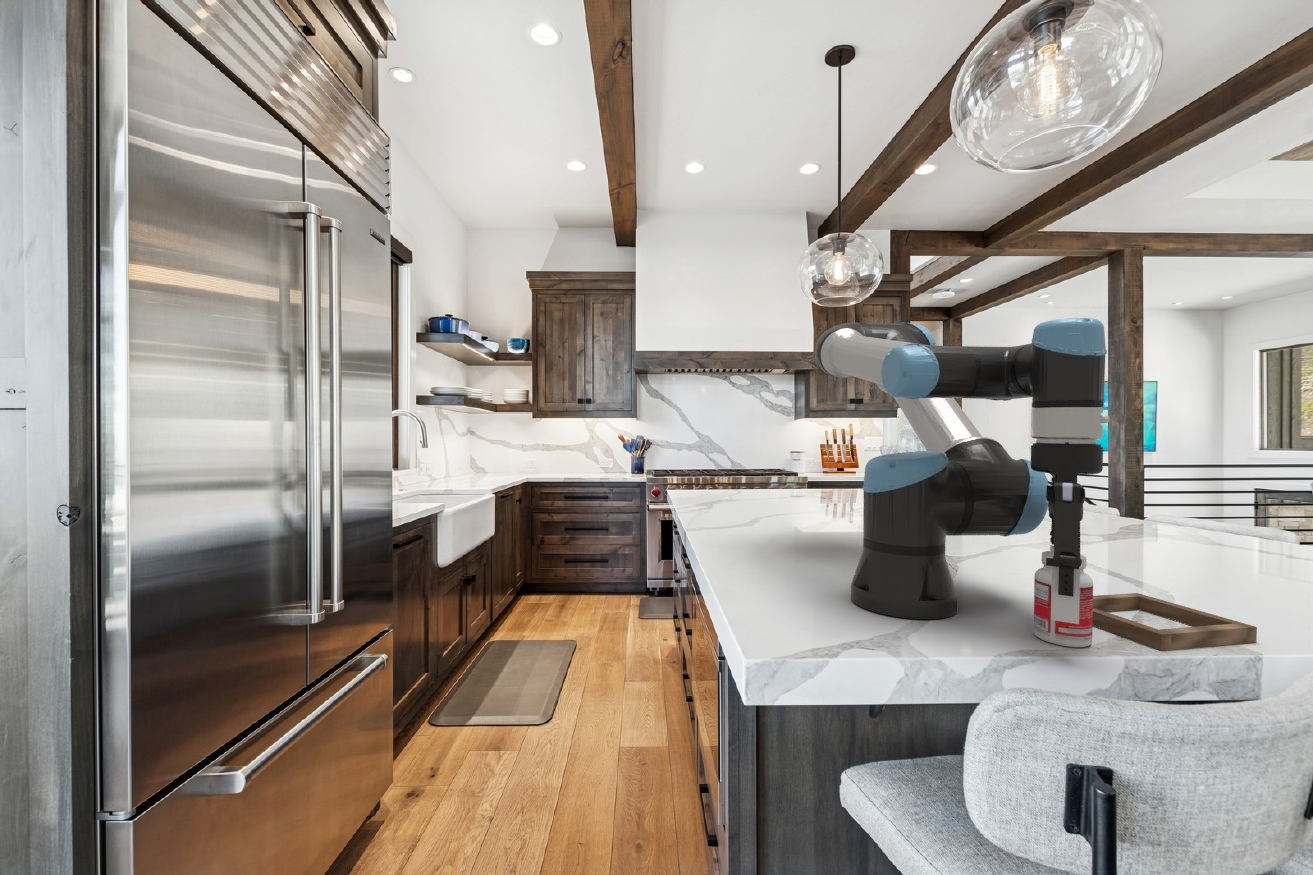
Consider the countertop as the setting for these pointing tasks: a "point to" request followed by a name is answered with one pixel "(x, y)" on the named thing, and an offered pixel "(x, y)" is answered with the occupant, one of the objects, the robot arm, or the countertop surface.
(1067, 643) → the pill bottle
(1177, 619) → the brown wooden square frame
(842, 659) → the countertop surface
